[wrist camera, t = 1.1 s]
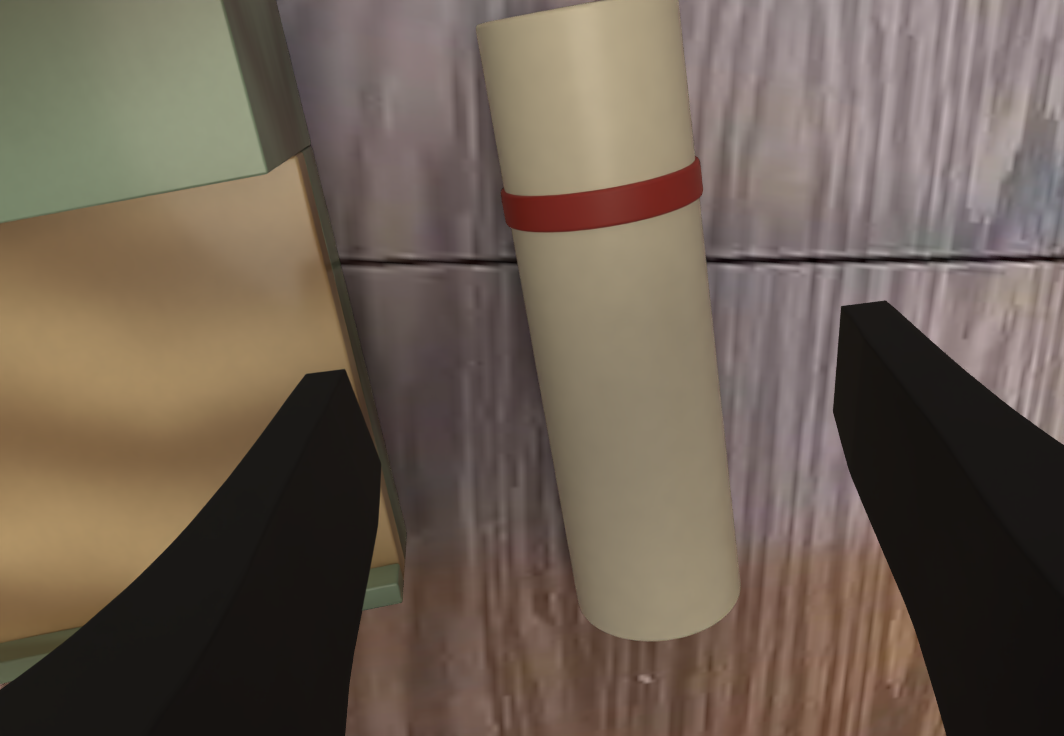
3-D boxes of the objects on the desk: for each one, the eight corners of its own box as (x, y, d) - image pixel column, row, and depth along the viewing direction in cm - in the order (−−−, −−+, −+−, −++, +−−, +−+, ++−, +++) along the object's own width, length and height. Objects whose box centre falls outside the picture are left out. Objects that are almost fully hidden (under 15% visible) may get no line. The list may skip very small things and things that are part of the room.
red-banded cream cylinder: (714, 531, 27) (770, 622, 23) (562, 564, 27) (591, 662, 23) (652, -6, 22) (709, -20, 18) (464, 28, 22) (477, 22, 18)
